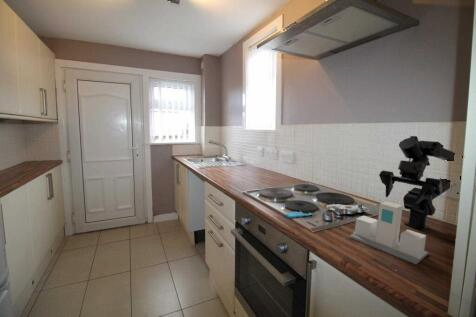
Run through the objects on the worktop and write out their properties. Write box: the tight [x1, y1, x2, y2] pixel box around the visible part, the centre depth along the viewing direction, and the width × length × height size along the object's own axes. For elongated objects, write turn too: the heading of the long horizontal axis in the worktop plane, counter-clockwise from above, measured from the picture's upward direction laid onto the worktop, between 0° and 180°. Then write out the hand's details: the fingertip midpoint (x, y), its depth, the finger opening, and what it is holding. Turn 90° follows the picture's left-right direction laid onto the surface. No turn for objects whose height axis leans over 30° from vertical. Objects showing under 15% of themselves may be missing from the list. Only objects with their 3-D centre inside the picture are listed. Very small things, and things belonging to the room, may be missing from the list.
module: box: [376, 200, 404, 247], centre depth 79 cm, size 5×5×13 cm
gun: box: [325, 203, 371, 213], centre depth 111 cm, size 18×3×10 cm
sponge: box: [284, 211, 313, 219], centre depth 105 cm, size 2×12×6 cm
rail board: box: [349, 215, 429, 265], centre depth 80 cm, size 10×20×7 cm, turn 37°
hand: (400, 199), depth 86 cm, fingers open, 9 cm apart
